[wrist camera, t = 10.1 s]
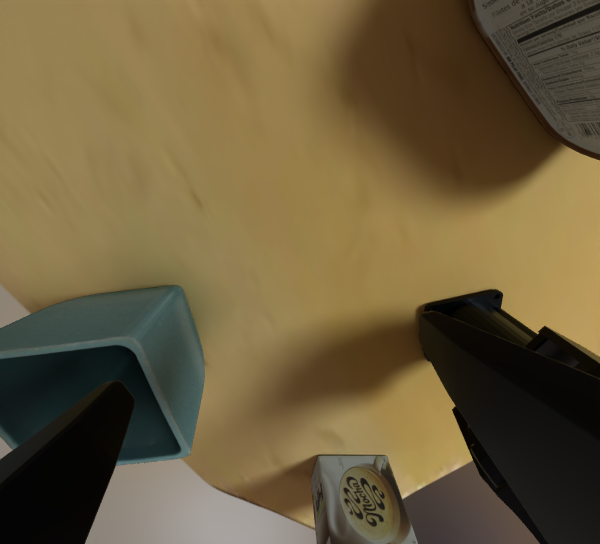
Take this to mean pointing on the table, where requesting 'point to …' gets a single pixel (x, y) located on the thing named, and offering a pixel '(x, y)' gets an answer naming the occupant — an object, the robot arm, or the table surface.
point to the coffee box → (358, 502)
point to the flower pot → (107, 367)
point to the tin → (550, 61)
